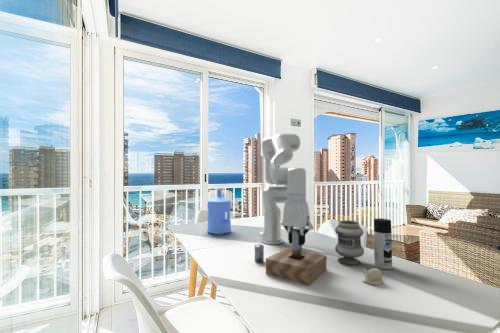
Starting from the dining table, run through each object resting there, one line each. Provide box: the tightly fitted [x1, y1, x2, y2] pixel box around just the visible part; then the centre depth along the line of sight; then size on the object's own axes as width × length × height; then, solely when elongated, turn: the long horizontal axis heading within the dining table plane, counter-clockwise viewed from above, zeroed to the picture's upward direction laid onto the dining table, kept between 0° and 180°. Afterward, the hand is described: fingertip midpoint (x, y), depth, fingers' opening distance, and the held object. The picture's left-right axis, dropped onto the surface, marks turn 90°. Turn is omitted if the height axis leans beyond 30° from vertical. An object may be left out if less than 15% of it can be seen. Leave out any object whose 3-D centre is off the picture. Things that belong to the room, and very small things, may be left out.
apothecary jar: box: [334, 219, 365, 267], centre depth 114 cm, size 12×12×18 cm
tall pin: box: [291, 227, 303, 260], centre depth 103 cm, size 4×4×14 cm
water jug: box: [206, 189, 232, 235], centre depth 171 cm, size 16×16×28 cm
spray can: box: [373, 218, 393, 270], centre depth 109 cm, size 7×7×20 cm
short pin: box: [254, 244, 265, 264], centre depth 115 cm, size 4×4×7 cm
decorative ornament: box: [362, 267, 384, 286], centre depth 93 cm, size 4×8×5 cm, turn 103°
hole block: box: [265, 247, 327, 287], centre depth 103 cm, size 18×18×6 cm
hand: (296, 243), depth 103 cm, fingers closed on tall pin, 4 cm apart
